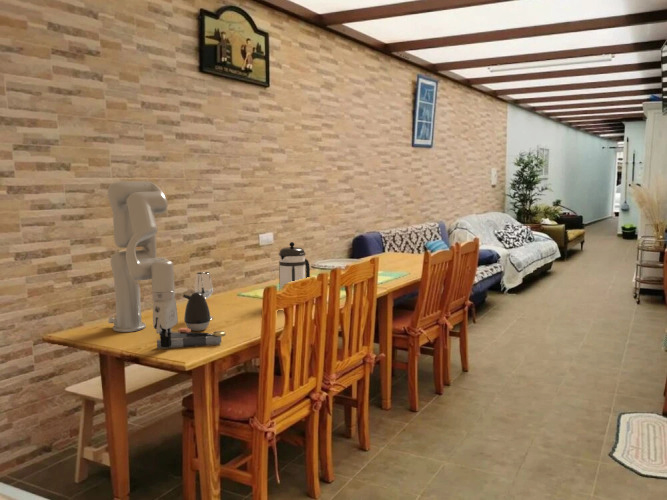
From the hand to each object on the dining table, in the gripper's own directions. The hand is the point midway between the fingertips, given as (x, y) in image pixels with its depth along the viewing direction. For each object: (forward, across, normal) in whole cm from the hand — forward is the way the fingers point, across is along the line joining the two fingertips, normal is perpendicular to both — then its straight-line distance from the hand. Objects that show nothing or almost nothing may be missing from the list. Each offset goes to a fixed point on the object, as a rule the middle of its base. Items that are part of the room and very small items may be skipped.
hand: (166, 346), depth 203 cm
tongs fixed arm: (+1, +11, -6) cm, 12 cm away
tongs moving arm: (+1, +6, -6) cm, 8 cm away
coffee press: (+1, +80, -26) cm, 84 cm away
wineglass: (+1, +45, +5) cm, 45 cm away
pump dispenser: (+1, +28, 0) cm, 28 cm away
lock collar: (+1, +14, -1) cm, 14 cm away
